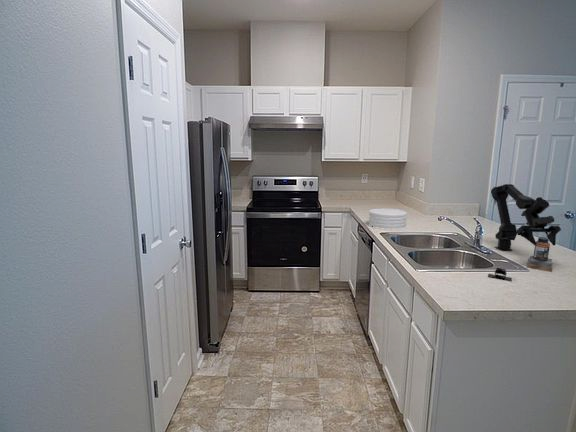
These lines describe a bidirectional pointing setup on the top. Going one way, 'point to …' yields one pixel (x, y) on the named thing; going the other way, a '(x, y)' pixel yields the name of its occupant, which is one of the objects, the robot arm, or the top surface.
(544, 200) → the robot arm
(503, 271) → the black bar with hump
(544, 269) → the plate
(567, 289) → the top surface
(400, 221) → the plate stack
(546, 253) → the supplement bottle
